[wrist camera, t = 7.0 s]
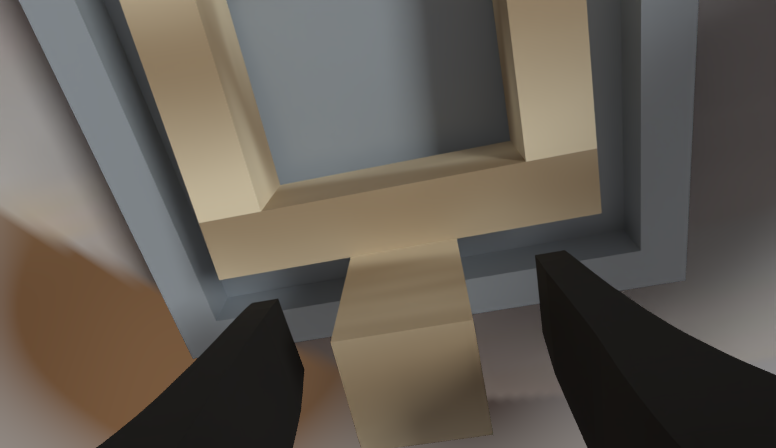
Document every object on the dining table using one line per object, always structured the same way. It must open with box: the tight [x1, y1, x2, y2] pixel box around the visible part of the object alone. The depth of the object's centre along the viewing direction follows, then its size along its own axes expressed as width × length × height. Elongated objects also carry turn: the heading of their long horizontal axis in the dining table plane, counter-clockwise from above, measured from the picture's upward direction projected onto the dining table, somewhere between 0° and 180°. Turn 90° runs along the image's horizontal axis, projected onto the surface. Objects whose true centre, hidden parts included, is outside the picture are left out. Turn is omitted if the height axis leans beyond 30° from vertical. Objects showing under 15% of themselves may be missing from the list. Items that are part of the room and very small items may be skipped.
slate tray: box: [19, 0, 699, 359], centre depth 13 cm, size 14×14×2 cm
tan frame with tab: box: [119, 0, 602, 448], centre depth 11 cm, size 12×9×6 cm
